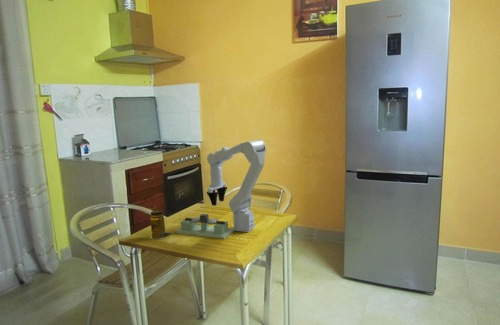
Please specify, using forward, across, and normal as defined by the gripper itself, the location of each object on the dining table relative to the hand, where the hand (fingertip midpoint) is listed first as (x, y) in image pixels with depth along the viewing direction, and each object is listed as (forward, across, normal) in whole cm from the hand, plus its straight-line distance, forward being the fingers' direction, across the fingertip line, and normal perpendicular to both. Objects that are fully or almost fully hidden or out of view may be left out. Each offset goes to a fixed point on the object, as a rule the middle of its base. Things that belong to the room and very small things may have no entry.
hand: (217, 203), depth 166 cm
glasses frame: (+5, +13, 0) cm, 14 cm away
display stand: (+10, +13, 0) cm, 17 cm away
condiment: (+11, +23, -18) cm, 32 cm away
